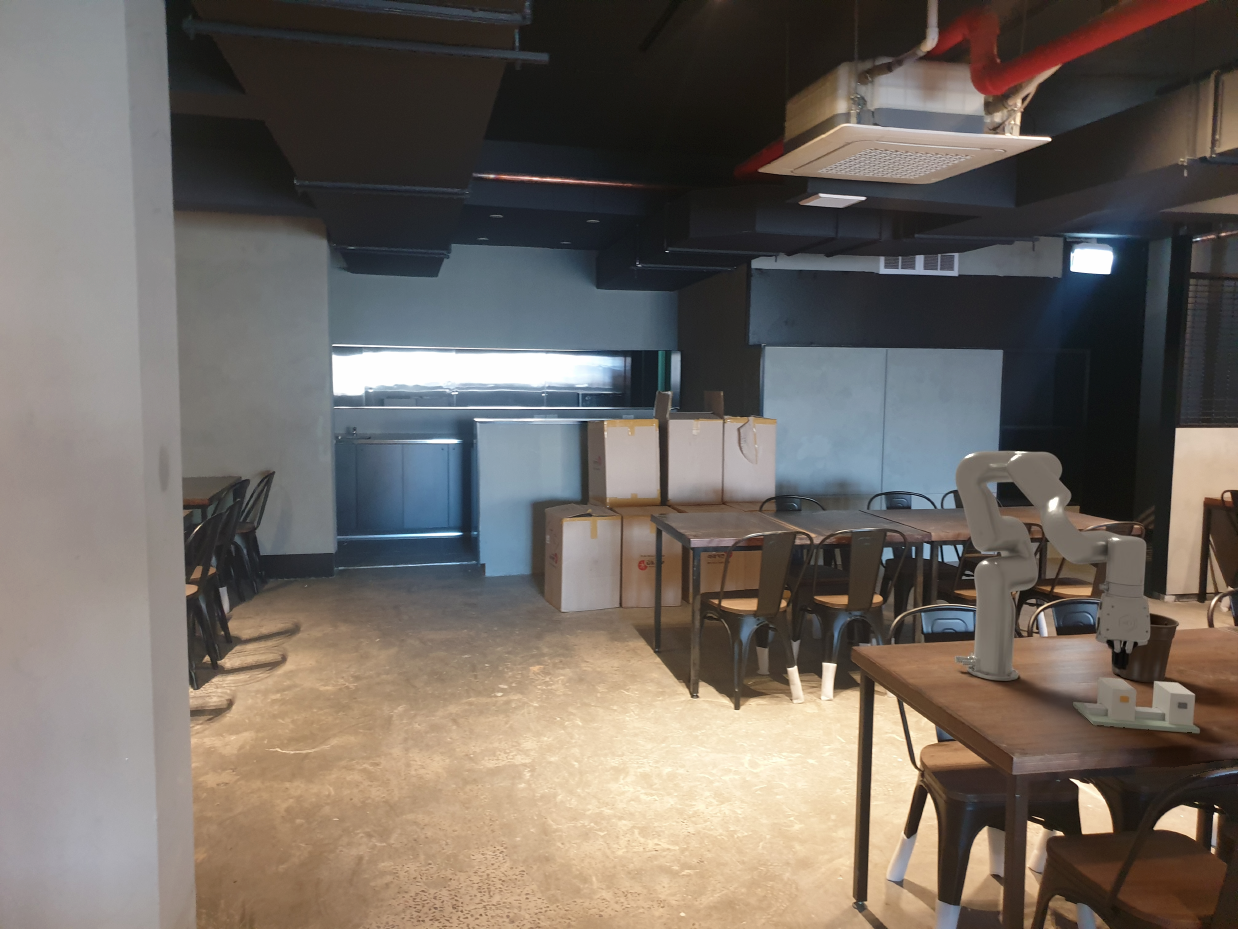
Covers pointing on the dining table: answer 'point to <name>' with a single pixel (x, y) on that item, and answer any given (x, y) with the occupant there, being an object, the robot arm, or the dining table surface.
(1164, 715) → the din panel
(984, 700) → the dining table surface
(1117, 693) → the block
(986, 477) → the robot arm
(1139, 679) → the plant pot
